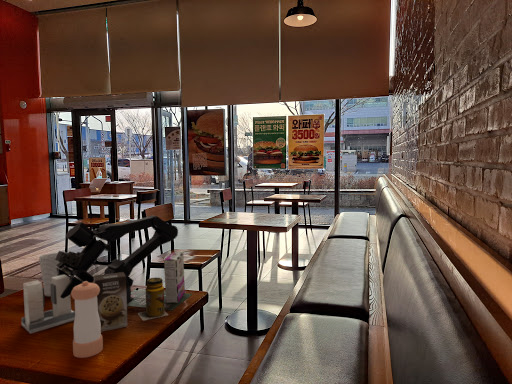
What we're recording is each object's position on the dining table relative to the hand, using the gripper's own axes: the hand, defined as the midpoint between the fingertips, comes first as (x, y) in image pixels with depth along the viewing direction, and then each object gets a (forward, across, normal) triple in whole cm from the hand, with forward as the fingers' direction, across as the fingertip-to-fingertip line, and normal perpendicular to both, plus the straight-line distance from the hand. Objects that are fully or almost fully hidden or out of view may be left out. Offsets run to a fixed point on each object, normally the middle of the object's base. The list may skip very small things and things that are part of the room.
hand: (56, 294), depth 116 cm
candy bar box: (-20, +12, +33) cm, 40 cm away
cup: (+1, -29, +12) cm, 31 cm away
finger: (+4, 0, +6) cm, 8 cm away
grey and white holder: (+7, 0, +5) cm, 9 cm away
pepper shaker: (+7, +28, +5) cm, 30 cm away
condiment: (-10, +20, +23) cm, 32 cm away
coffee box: (-1, +18, +13) cm, 22 cm away
